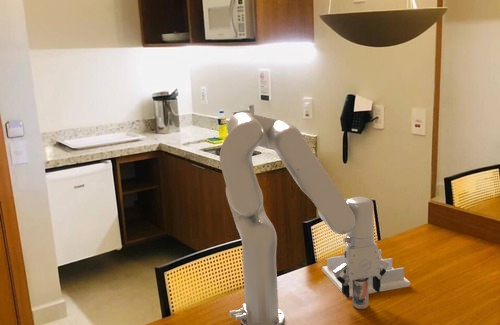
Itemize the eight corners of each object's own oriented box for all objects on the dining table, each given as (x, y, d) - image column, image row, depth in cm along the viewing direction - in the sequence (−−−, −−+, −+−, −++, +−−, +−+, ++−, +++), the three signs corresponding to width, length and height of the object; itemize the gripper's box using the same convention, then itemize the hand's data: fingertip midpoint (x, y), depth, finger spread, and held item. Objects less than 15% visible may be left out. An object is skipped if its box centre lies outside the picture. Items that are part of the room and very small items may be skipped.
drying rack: (346, 297, 162) (345, 281, 160) (322, 270, 180) (321, 256, 179) (410, 286, 166) (410, 270, 165) (380, 261, 185) (380, 246, 184)
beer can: (350, 308, 155) (350, 271, 152) (355, 300, 159) (354, 264, 157) (366, 311, 153) (366, 273, 150) (370, 303, 157) (370, 267, 154)
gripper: (337, 248, 146) (339, 304, 150) (394, 239, 149) (393, 293, 154) (327, 239, 153) (329, 292, 157) (381, 230, 157) (381, 282, 161)
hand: (361, 292), depth 155 cm, fingers open, 9 cm apart
